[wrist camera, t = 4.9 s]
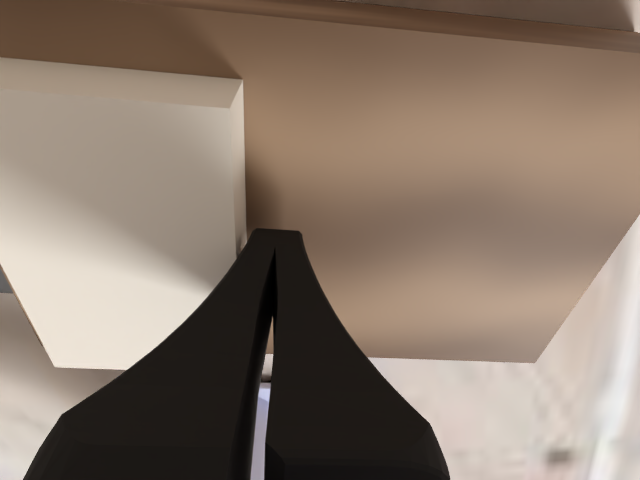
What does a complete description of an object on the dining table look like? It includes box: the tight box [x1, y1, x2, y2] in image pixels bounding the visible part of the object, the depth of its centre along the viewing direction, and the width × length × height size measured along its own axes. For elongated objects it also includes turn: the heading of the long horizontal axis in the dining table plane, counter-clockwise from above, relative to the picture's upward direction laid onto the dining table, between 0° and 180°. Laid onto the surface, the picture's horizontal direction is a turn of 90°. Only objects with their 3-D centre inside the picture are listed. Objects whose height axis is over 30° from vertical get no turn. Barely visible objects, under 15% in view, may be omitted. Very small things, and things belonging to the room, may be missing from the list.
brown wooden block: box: [0, 0, 640, 363], centre depth 14 cm, size 12×20×4 cm, turn 85°
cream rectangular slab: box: [0, 57, 247, 370], centre depth 11 cm, size 9×6×2 cm, turn 174°
